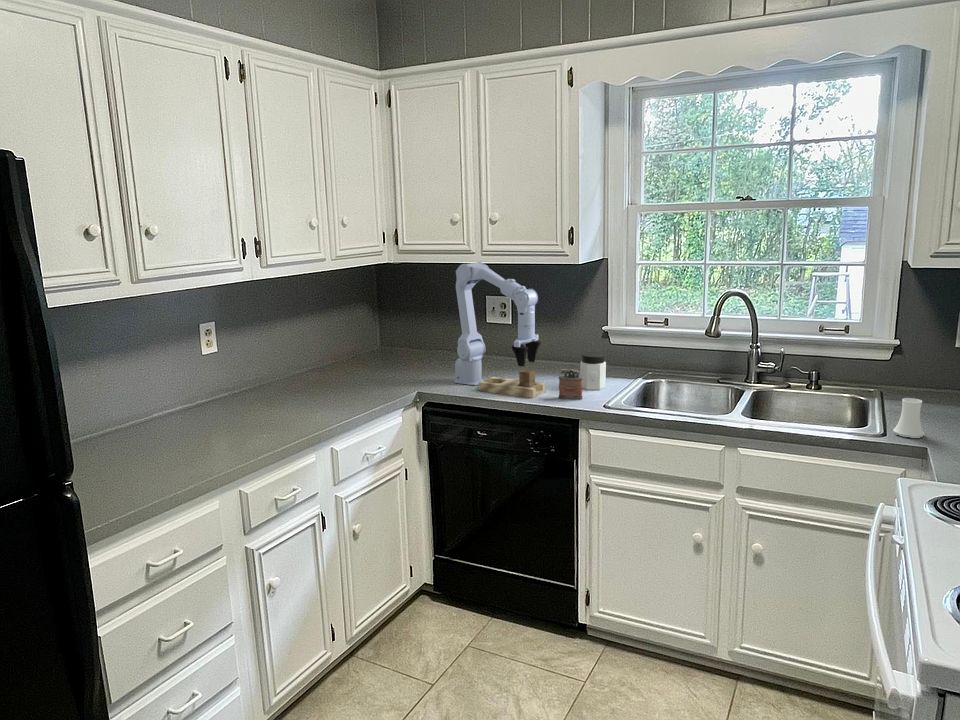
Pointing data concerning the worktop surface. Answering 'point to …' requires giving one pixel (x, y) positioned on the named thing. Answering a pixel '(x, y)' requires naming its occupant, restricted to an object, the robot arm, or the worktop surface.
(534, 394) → the wooden tray with recesses
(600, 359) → the jar
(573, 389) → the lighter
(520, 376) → the peg
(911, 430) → the white flared vase
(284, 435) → the worktop surface
